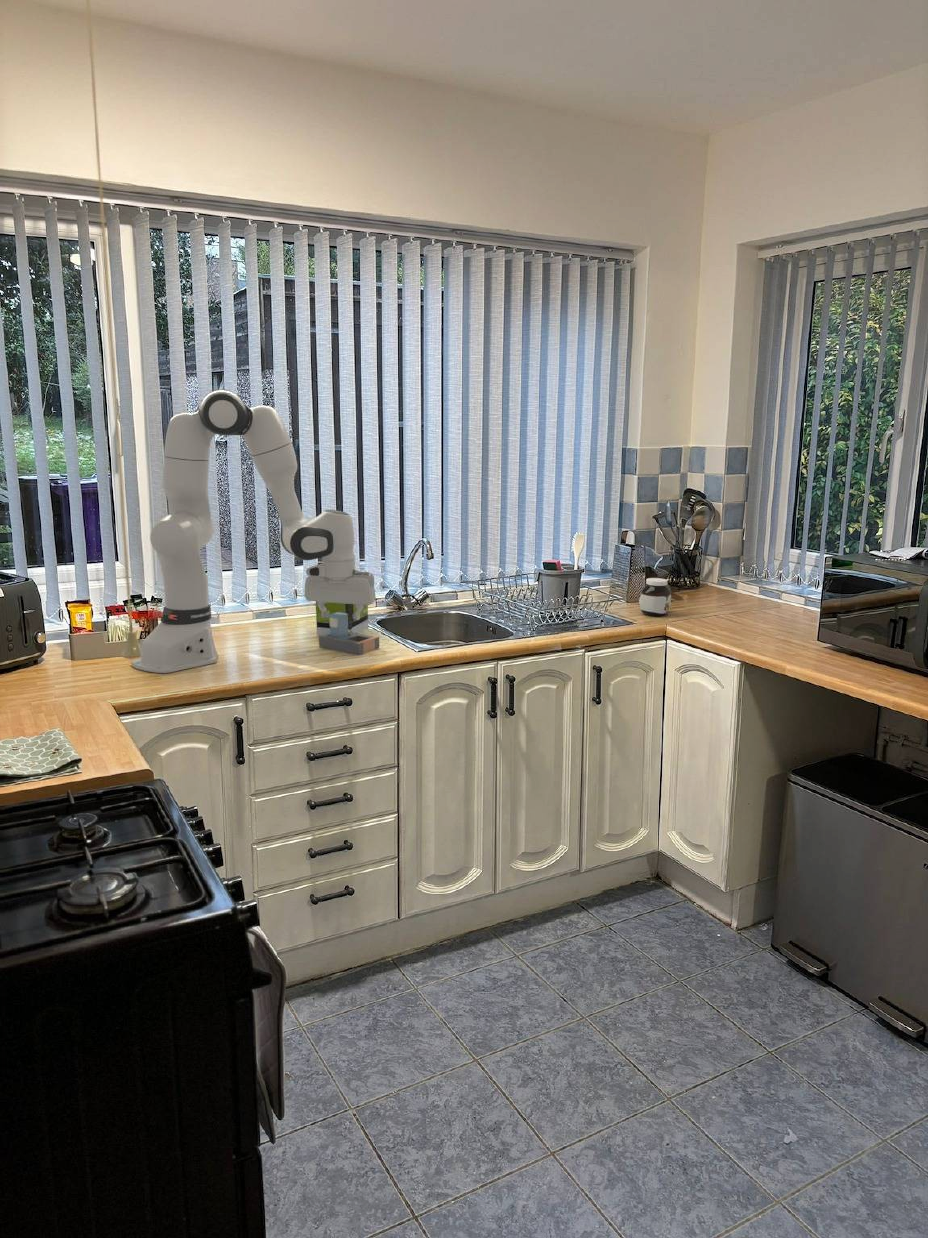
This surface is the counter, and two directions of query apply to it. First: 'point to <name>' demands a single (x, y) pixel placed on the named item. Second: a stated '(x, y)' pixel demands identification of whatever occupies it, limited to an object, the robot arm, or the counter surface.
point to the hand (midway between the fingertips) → (340, 618)
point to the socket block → (350, 643)
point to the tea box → (349, 609)
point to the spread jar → (655, 597)
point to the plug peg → (339, 625)
